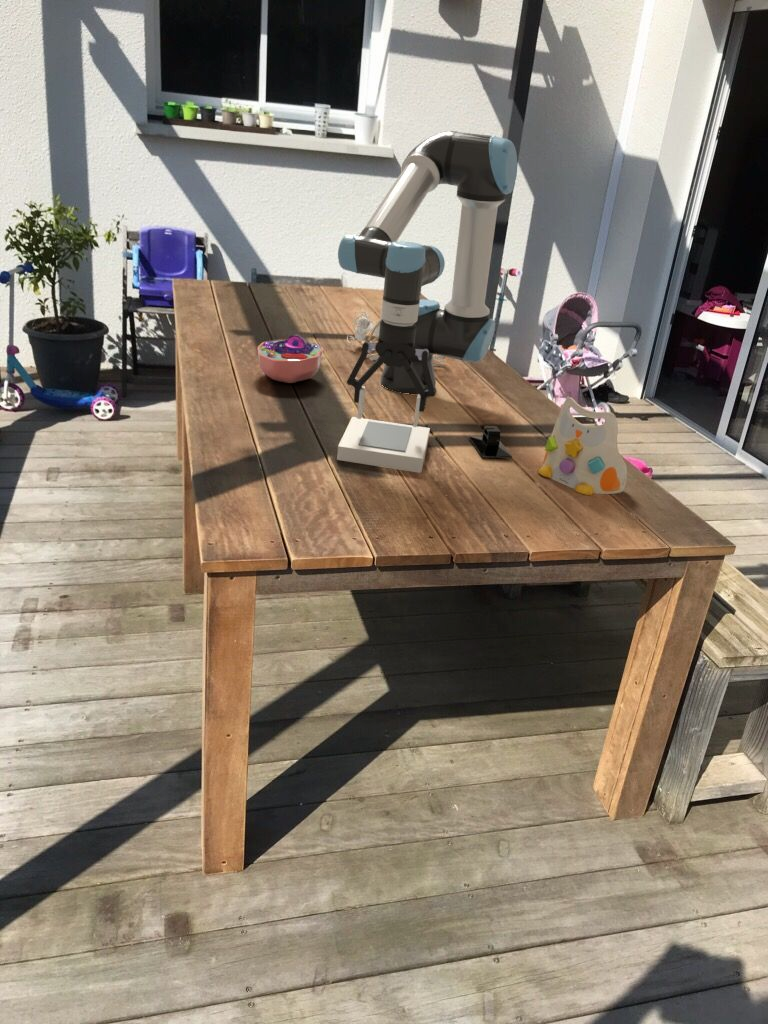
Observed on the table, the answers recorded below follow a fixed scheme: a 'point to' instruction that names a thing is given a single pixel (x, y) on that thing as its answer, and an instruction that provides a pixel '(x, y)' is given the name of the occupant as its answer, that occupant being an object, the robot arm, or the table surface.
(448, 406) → the table surface
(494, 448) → the black stand
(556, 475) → the shape sorter
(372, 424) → the plinth
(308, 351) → the cell model
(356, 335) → the plant holder
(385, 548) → the table surface
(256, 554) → the table surface
